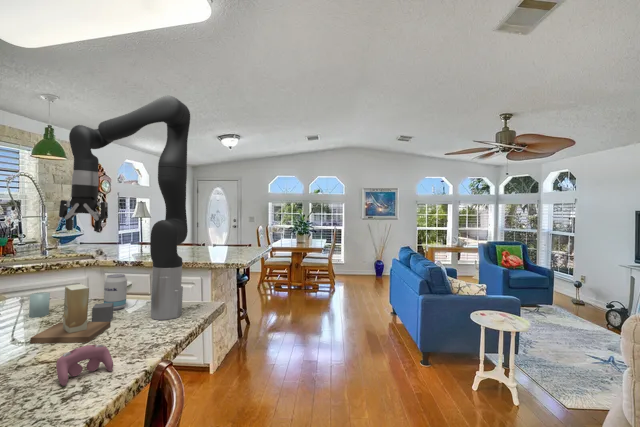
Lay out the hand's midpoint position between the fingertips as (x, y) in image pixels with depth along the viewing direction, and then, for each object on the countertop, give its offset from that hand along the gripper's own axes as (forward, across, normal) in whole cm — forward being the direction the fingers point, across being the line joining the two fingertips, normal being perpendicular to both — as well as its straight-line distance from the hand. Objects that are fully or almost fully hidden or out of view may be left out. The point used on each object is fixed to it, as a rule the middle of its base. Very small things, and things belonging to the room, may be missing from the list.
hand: (83, 230), depth 111 cm
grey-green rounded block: (+28, +10, +4) cm, 30 cm away
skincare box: (+27, -10, +22) cm, 36 cm away
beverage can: (+28, -10, -3) cm, 30 cm away
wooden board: (+28, -10, +22) cm, 37 cm away
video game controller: (+28, -25, +46) cm, 60 cm away
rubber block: (+28, -12, +10) cm, 32 cm away
